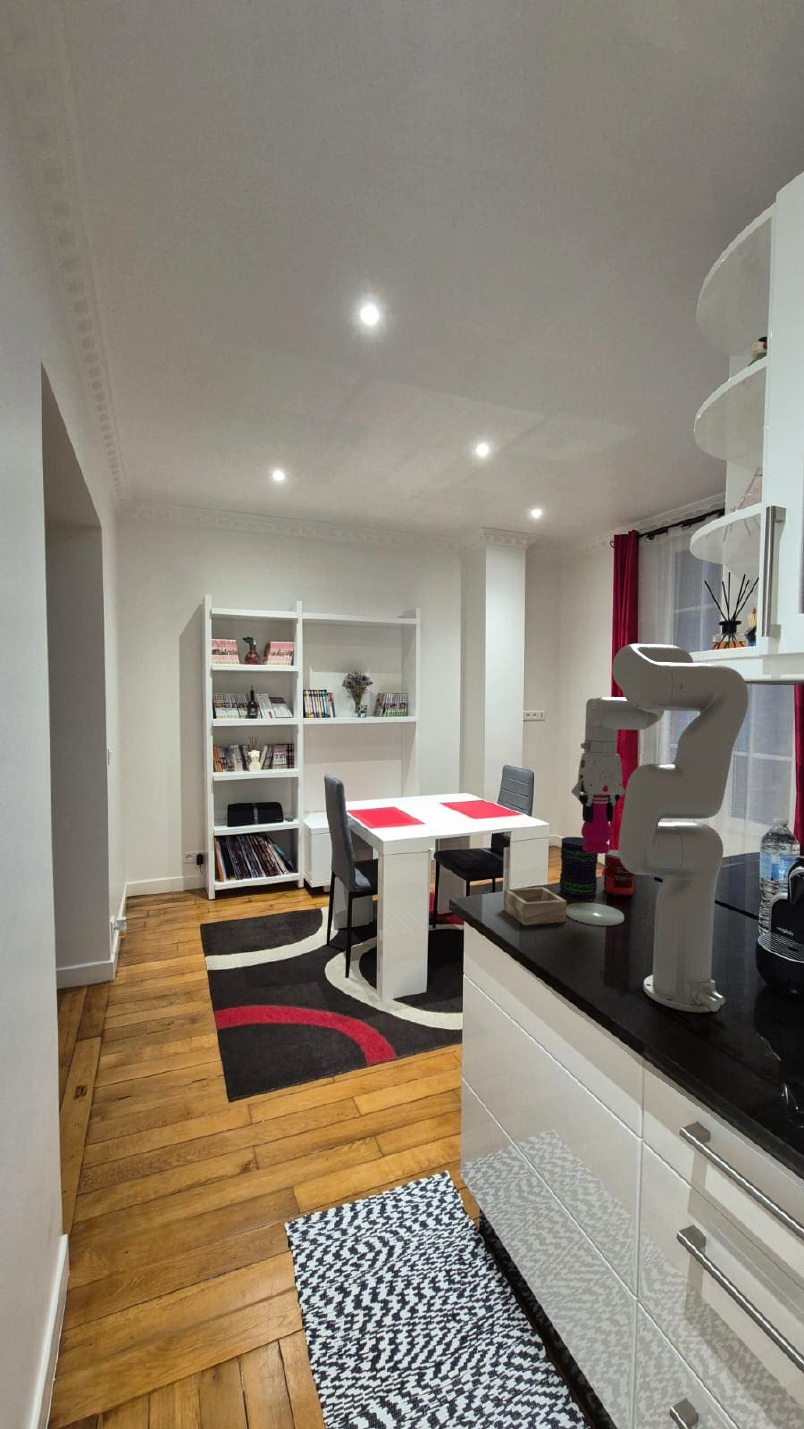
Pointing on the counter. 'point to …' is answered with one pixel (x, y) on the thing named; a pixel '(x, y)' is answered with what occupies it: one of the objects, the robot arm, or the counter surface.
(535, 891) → the box
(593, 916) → the coaster
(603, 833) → the pepper mill
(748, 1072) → the counter surface
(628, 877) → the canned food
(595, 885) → the storage jar
